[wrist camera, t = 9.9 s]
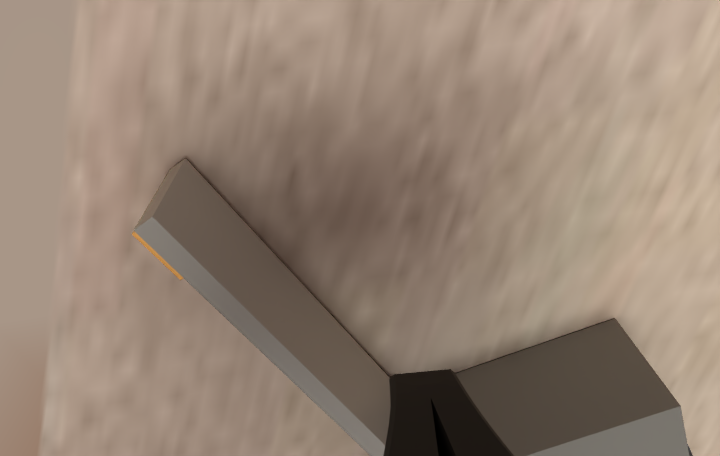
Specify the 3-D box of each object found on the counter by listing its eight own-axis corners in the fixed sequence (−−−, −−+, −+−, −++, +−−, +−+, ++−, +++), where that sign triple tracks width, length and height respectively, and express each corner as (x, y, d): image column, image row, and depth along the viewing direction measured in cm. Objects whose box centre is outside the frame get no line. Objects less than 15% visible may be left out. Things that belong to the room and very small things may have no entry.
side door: (405, 390, 25) (421, 475, 21) (379, 404, 25) (389, 492, 22) (188, 155, 20) (156, 213, 16) (158, 178, 20) (119, 241, 16)
